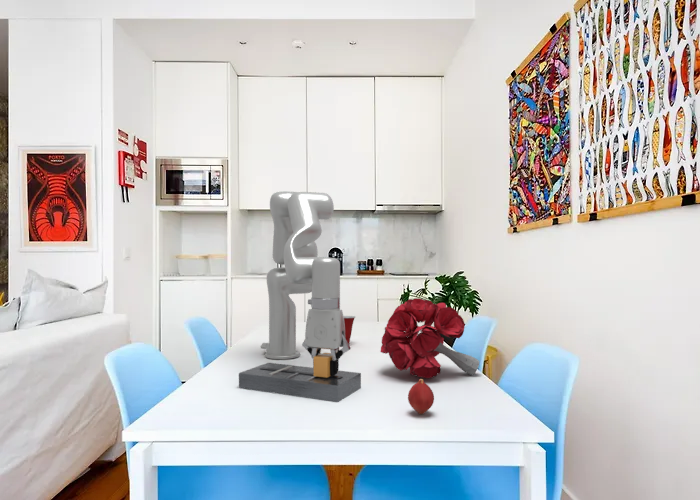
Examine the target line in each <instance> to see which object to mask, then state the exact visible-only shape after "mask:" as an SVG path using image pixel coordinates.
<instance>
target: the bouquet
mask: <svg viewBox="0 0 700 500" xmlns="http://www.w3.org/2000/svg"><path fill="white" fill-rule="evenodd" d="M419 323H424V324H422V325H420V326H419V325H418V324H419ZM465 324H466V323H465V320H464V318H463V317H462V316H461V315H460V314H459V313H458V311H457V310H456V309H455V308H453V307H450V306H447V304H446V303H445V302H439V303H438V302H437V303H433V302H432V301H431V300H428V299H423V298H420V297H419V298H417V297H416V298H411V299H408V300H406V301H404V303H401V304H399V305H398V306H397V307H396V308H395V309H394V311H393V313H392V314H391V316H390V317H389V319H388V320H387V324H386V326H385V327H384V333H383V335H382V337H381V346H380V353H382V354H385V355H386V354H388V355H389V358H390V359H391V361H392V363H393V365H394V367H395V368H396V369H397V370H399V371H401V372H402V371H404V370H405V371H407V370H409V375H412V376H416V377H418V378H426V379H429V378H430V379H431V378H434V377H437V375H438V374H439V375H440V373H441V367H442V364H440V362H439V361H438V360H437V358H436V357H437V356H438V355H440V354H442V355H443V356H445V357H447V358H448V359H450V360H451V362H453V363H454V365H456V366H457V367H458V368H459V369H460V370H462V372H464V373H466V374H468V375H470V376H473V375H474V374H475V373H476V372H477V371H478V369H479V366H480V360H479V359H477V358H475V357H474V356H472V355H469V354H466V353H464V352H463V353H462V352H459V351H456V350H454V349H451V348H449V347H447V346H445V345H444V342H445V341H444V340H445V338H444V337H443V336H445V337H447V338H449V339H450V338H451V337H452V338H454V339H455V338H456V339H460V338H461V337H462V336H463V335H464V332H465V328H466V327H465ZM432 325H433V326H432ZM441 335H443V336H441Z"/></svg>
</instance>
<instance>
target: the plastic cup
mask: <svg viewBox="0 0 700 500" xmlns="http://www.w3.org/2000/svg"><path fill="white" fill-rule="evenodd" d="M343 317H344V323H345V339H346V340H347V342H348V344H349V345H350V343H351V342H350V341H351V336H352V331H353V325H354V321H355V318H356V316H355V315H354V316H353V315H343ZM342 348H343V346H342Z"/></svg>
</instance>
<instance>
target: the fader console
mask: <svg viewBox="0 0 700 500" xmlns="http://www.w3.org/2000/svg"><path fill="white" fill-rule="evenodd" d="M361 377H362V373H361V372H356V371H355V372H354V371H345V370H338V373H337V374H336V375H334V376H330V377H328V378H326V377H318V376H314V369H313V366H312V367H311V366H309V367H308V366H304V365H303V366H301V365H295V364H294V365H291V364H282V363H275V362H267V363H264V364H261V365H258V366H255V367H252V368H250V369H245V370H244V371H240V372H239V373H238V388H239V389H243V390H251V389H252V390H253V391H259V392H266V393H272V394H279V395H288V396H292V397H299V398H300V397H302V398H307V399H315V400H322V401H329V402H334V403H335V402H336V403H338V402H340V401H342V400H344V399H345V398H347V397H349V396H350V395H351V394H353V393H355V392H357V391H358V390H359V389H361V388H362V378H361ZM252 390H251V391H252Z"/></svg>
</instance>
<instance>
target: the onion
mask: <svg viewBox="0 0 700 500" xmlns="http://www.w3.org/2000/svg"><path fill="white" fill-rule="evenodd" d="M407 396H408V397H407V401H408V403H409V405H410V407H411V408H412V409H414V411H416V412H417V414H419V415H424V414H425V413H426V412H427V411H429V410H430V409H431V408H432V406H433V404H434V402H435V396H434V392H433V389H432V388H431V387H430V386H429V385H428V384H427V383H426V382H425V381H424V379H423V378H420V379H418V381H417V382H416V383H415V384H413V385H412V386H411V387H410V389H409V391H408V395H407Z"/></svg>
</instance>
